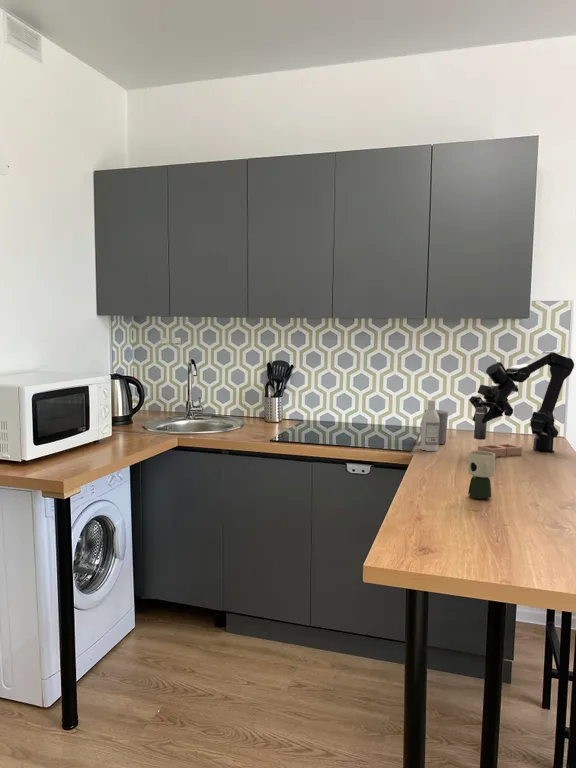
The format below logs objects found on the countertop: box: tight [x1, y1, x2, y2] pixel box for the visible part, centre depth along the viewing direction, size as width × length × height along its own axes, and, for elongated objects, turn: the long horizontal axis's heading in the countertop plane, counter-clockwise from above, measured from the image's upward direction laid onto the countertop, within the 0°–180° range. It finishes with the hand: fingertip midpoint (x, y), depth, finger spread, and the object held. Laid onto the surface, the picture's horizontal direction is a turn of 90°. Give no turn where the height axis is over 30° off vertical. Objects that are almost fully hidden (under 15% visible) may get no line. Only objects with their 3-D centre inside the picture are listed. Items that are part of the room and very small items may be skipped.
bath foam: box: [419, 399, 440, 452], centre depth 236 cm, size 7×7×20 cm
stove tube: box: [473, 407, 489, 441], centre depth 228 cm, size 4×4×12 cm
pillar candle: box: [424, 408, 449, 445], centre depth 253 cm, size 10×10×15 cm
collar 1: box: [477, 444, 507, 458], centre depth 231 cm, size 7×7×3 cm
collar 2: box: [495, 443, 523, 457], centre depth 235 cm, size 7×7×3 cm
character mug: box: [467, 450, 496, 500], centre depth 169 cm, size 11×7×13 cm, turn 1°
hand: (477, 421), depth 227 cm, fingers closed on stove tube, 4 cm apart
